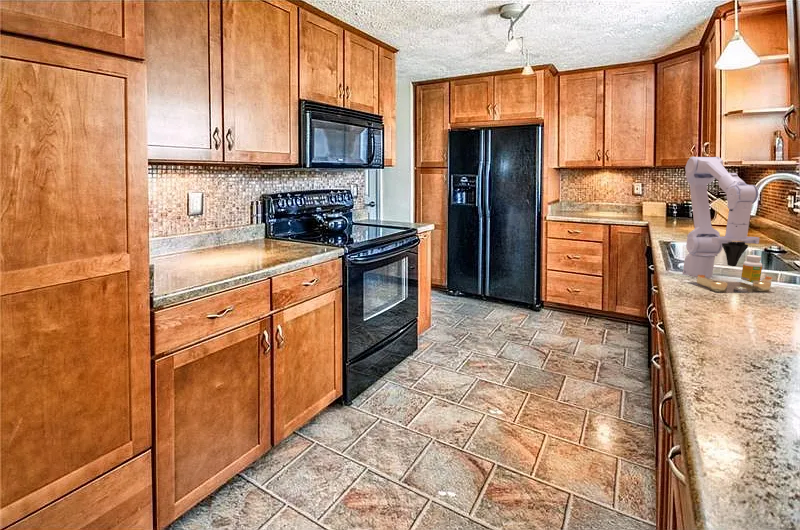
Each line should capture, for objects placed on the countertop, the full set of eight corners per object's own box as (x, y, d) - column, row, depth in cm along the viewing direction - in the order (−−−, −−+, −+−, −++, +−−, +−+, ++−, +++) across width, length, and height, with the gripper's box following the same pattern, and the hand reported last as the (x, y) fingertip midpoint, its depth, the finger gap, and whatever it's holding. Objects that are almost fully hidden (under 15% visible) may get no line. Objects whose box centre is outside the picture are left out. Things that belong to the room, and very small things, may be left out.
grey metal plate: (686, 286, 162) (687, 278, 161) (740, 286, 163) (741, 278, 162) (715, 297, 148) (716, 289, 147) (773, 297, 149) (775, 288, 148)
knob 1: (729, 291, 148) (731, 282, 148) (716, 292, 148) (717, 282, 147) (705, 283, 159) (706, 274, 158) (692, 283, 159) (693, 274, 158)
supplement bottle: (751, 285, 164) (755, 257, 162) (736, 281, 169) (740, 254, 167) (763, 284, 166) (767, 256, 164) (748, 281, 171) (752, 254, 169)
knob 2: (767, 292, 148) (769, 283, 147) (750, 289, 151) (751, 280, 150) (776, 286, 155) (777, 277, 155) (759, 284, 158) (761, 275, 158)
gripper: (725, 225, 147) (719, 268, 150) (769, 225, 149) (762, 268, 151) (709, 222, 154) (703, 263, 157) (751, 222, 155) (745, 263, 158)
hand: (731, 265), depth 155 cm, fingers closed
